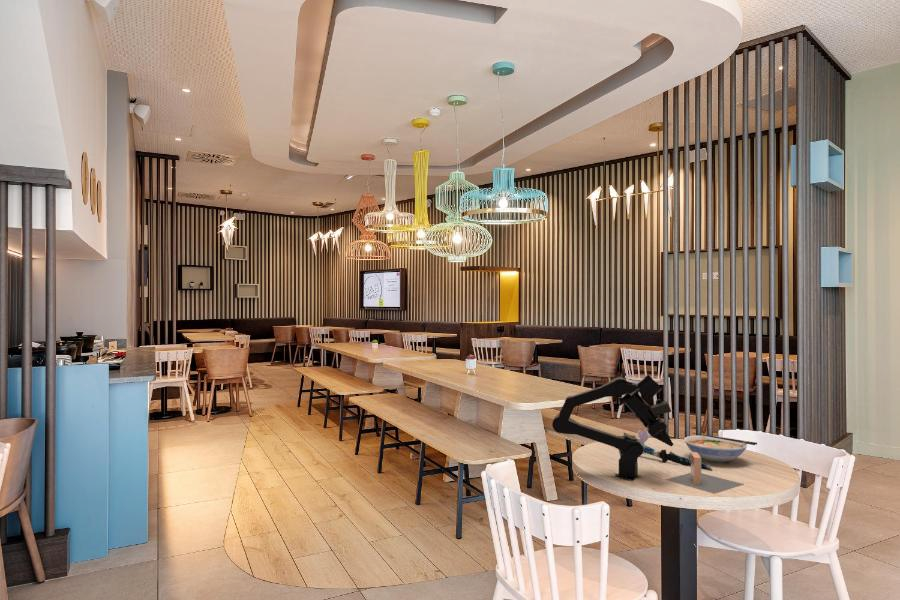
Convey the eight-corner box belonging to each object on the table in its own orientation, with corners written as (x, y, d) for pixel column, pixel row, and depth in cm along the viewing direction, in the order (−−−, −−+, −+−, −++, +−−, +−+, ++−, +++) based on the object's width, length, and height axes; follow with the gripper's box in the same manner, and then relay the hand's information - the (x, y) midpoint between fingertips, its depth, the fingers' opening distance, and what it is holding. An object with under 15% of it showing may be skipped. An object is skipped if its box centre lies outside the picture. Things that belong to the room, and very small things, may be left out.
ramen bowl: (669, 458, 226) (669, 437, 227) (699, 449, 240) (699, 430, 241) (732, 472, 207) (732, 449, 207) (761, 462, 221) (761, 441, 221)
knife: (634, 452, 229) (635, 442, 229) (639, 451, 231) (640, 440, 231) (708, 478, 205) (709, 466, 205) (712, 477, 207) (713, 465, 207)
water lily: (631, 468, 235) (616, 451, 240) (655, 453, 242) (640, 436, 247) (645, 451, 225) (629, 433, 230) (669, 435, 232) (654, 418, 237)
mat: (714, 495, 181) (714, 493, 181) (665, 480, 195) (665, 479, 195) (744, 485, 191) (744, 484, 191) (695, 472, 206) (695, 471, 206)
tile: (694, 484, 190) (694, 457, 190) (690, 477, 198) (690, 451, 198) (701, 485, 189) (701, 458, 190) (697, 478, 197) (697, 452, 197)
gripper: (661, 396, 189) (694, 433, 187) (653, 389, 207) (683, 422, 205) (635, 417, 191) (667, 454, 188) (629, 408, 209) (659, 442, 206)
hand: (670, 442), depth 197 cm, fingers open, 9 cm apart
